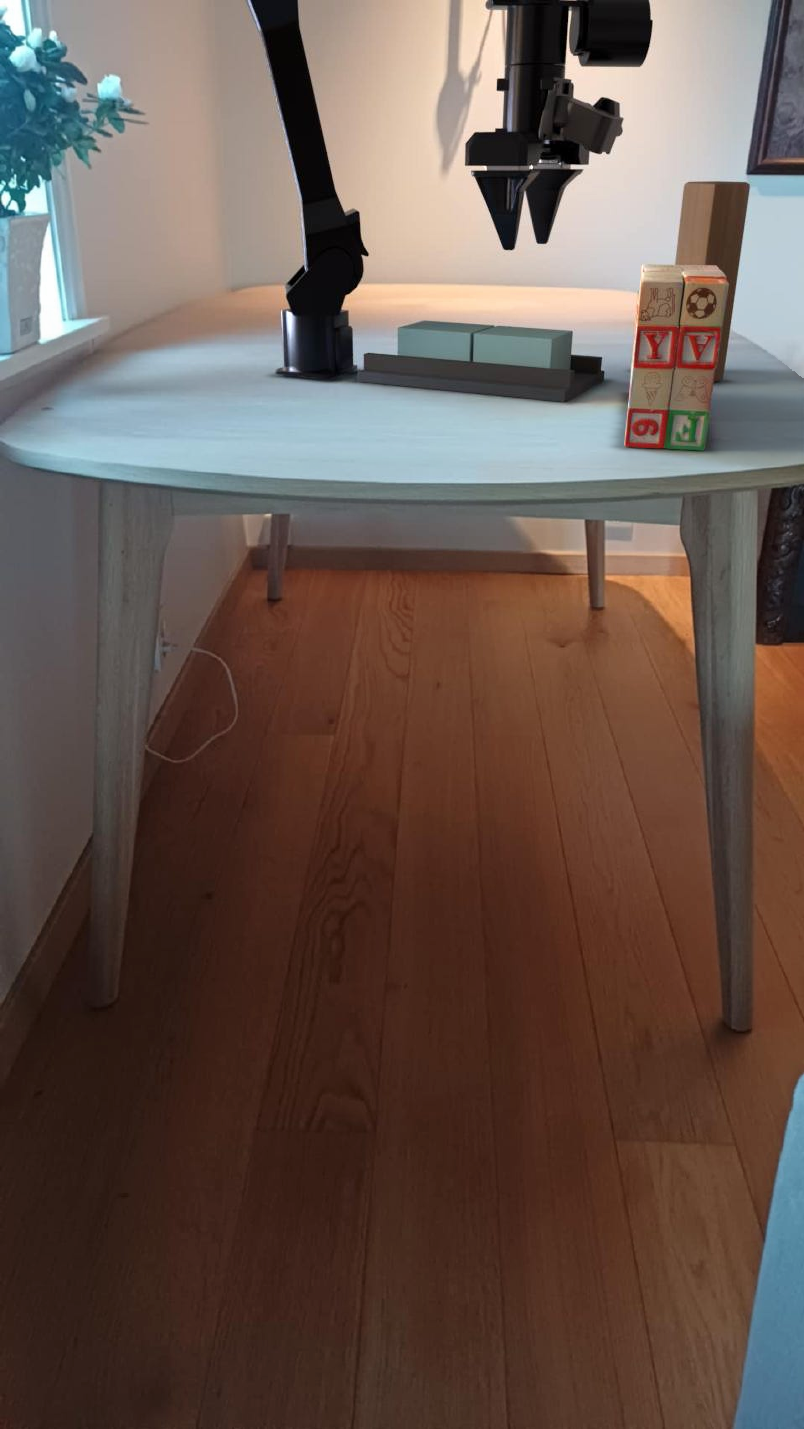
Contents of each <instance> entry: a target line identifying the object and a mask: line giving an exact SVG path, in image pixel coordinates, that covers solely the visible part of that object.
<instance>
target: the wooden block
mask: <svg viewBox="0 0 804 1429" xmlns="http://www.w3.org/2000/svg"><path fill="white" fill-rule="evenodd" d="M750 190H751V185H750V183H748V182H747V181H725V180H724V181H722V180H718V181H717V180H716V181H715V180H713V181H711V180H710V181H688V182H685V183H684V185H683V190H682V198H681V199H682V200H681V208H680V216H679V227H678V235H677V243H676V244H677V245H676V251H675V252H676V254H675V260H674V265H716V266H717V267H718V268H719V270H721V271H722V272H723V273H724V274H725V276H726V280H727V282H728V283H729V287H728V294H727V300H726V306H725V312H724V318H723V324H722V334H721V342H720V348H719V355H718V363H717V368H716V369H715V375H714V382H720V381H723V379H724V376H725V369H726V363H727V356H728V355H727V354H728V348H729V340H730V335H731V334H730V332H731V327H732V326H731V325H732V319H733V313H734V305H735V297H736V290H737V282H738V277H739V276H738V275H739V269H740V261H741V253H742V248H743V240H744V233H745V232H744V231H745V226H746V220H747V211H748V204H749V197H750Z"/></svg>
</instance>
